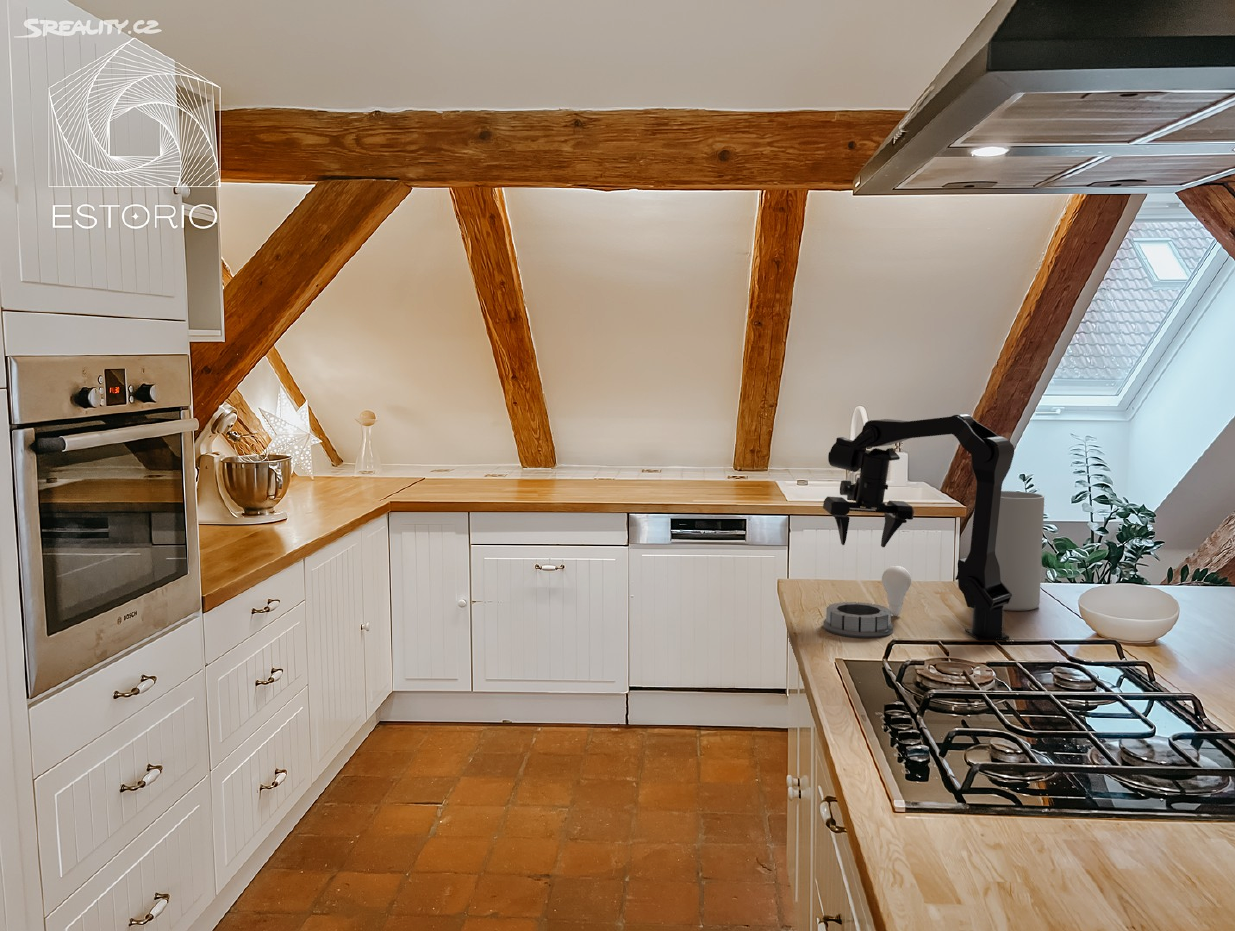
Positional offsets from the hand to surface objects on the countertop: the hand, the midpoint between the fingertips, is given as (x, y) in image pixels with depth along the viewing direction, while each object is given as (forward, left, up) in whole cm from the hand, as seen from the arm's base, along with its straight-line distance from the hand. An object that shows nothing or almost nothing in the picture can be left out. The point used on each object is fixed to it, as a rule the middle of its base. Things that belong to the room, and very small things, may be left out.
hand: (862, 545), depth 213 cm
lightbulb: (-6, -5, -15) cm, 17 cm away
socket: (-15, +6, -14) cm, 22 cm away
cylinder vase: (+2, -34, -15) cm, 37 cm away
